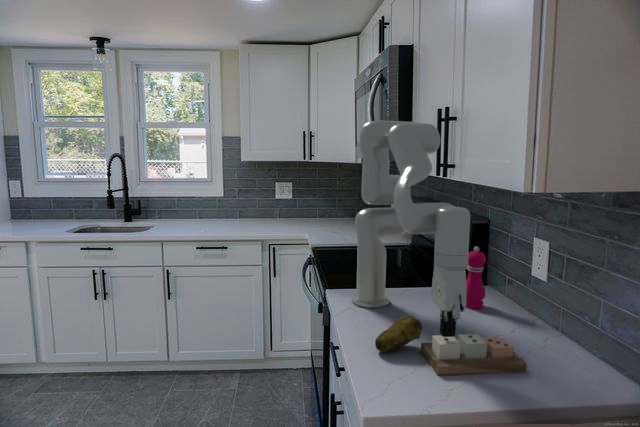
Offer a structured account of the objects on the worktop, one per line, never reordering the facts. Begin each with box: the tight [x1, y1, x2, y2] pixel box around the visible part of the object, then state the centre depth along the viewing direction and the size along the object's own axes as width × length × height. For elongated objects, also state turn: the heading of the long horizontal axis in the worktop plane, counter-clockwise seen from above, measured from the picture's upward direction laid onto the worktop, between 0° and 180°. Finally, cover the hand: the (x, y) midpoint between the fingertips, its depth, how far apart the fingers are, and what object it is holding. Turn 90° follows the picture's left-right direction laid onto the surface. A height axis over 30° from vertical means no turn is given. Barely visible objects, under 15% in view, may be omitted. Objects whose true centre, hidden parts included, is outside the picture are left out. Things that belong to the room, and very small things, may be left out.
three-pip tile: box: [482, 337, 514, 358], centre depth 103 cm, size 5×5×4 cm
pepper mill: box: [465, 246, 487, 310], centre depth 138 cm, size 7×7×20 cm
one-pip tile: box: [431, 334, 461, 360], centre depth 102 cm, size 5×5×4 cm
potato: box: [374, 315, 423, 353], centre depth 109 cm, size 8×13×8 cm, turn 98°
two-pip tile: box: [457, 333, 487, 359], centre depth 102 cm, size 5×5×4 cm
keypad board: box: [420, 341, 528, 377], centre depth 103 cm, size 12×21×2 cm, turn 95°
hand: (447, 335), depth 101 cm, fingers closed
